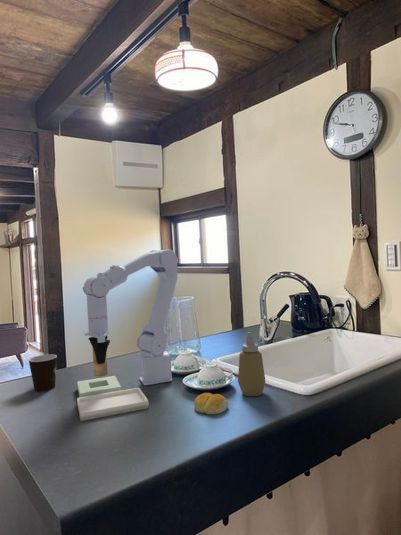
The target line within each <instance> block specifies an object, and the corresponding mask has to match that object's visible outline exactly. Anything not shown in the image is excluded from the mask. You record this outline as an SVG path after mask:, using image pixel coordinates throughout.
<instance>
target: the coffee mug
mask: <svg viewBox="0 0 401 535" xmlns="http://www.w3.org/2000/svg"><path fill="white" fill-rule="evenodd" d="M57 361H58V356H57V354H41V355H36V356H32V357H30V358H29V359H28V364H29V370H30V374H31V380H32V384H33V389H34V391H35V392H38V393H40V392H42V393H43V392H47V391H51V390H53V389H55V388H56V378H57Z"/></svg>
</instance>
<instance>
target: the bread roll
mask: <svg viewBox="0 0 401 535" xmlns="http://www.w3.org/2000/svg"><path fill="white" fill-rule="evenodd" d="M193 405H194V409H195V411H197V412H198V413H202V414H207V415H218V414H222V413H223V412H225V411H226V410H227V409H228V408H229V402H228V400H227V398H226V397H225V396H223V395H221V394H219V393H215V394H213V393H211V392H204V393H202V394H199V395H198V396H196V398H195V399H194V404H193Z"/></svg>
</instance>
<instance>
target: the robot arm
mask: <svg viewBox="0 0 401 535" xmlns="http://www.w3.org/2000/svg"><path fill="white" fill-rule="evenodd" d="M178 263H179V258H178V256H177V254H176V252H174V251H173V249H170V248H167V249H160V250H158V249H153V250H150V251H148V252H145V253H144V254H142V255H140V256H138V257H137V258H135V259H133V260H132V261H130V262H129V263H126V264H125V265H124V266H121V265H114V264H113V265H111V266H110V267H109V268H108V270H105V271H103V272H99V273H97V274H96V275H97V276H95V277H89V278H87V279H86V281H85V282H84V284H83V286H82V291H83V292H84V294H85V295H86V305H87V306H86V307H87V309H86V310H87V324H88V325H87V326H88V332H87V331H86V332H84V336H89V337H88V341H89V343H90V344H91V346H92V350H93V349H94V352H95V356H96V361H97V363H98V364H103V363H105V360H106V353H107V352H108V348H109V345H110V344H111V340H110V339H108V335H109V334H110V330H109V322H108V321H109V319H108V318H109V317H108V304H107V303H108V302H107V295H108V294H109V292H110V291H111V290H113V289H114V288H116V287H118V286H120V285H122V284H123V283H125V282H127V280H128V276H131V275H133V274H134V273H136V272H138V271H141V270H143V269H144V268H147V267H150V269H152V270H153V271H154V272H155V273H156V274H157V276H158V277H159V280H160V281H159V284H158V288H157V291H156V295H155V299H154V302H153V306H152V309H151V312H150V314H149V315H150V316H149V319H148V323H147V324H146V325H145V326H144V327H143V328H142V330H141V333H140V334H139V335H138V336H137V339H136V347H137V349H138V350H139V351H140V358H141V373H142V376H140V377H139V378H138V379H139V381H140V382H141V383H142V384H143V385H144V386H149V385H151V386H152V385H156V384H161V383H162V384H163V383H167V382H173V378H172V361H171V355H170V353H169V352H167V351H166V350H167V346H168V344H167V342H168V341H167V336H168V332H167V331H166V329H165V325H166V322H167V319H168V318H167V317H168V314H169V310H170V307H171V303H172V299H173V295H174V293H175V288H176V285H177V281H178V267H177V266H178Z"/></svg>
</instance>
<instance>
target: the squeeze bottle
mask: <svg viewBox="0 0 401 535" xmlns="http://www.w3.org/2000/svg"><path fill="white" fill-rule="evenodd" d="M241 350H242V351H240V353H239V355H238V356H239V357H238V358H239V359H238V375H237V383H238V386H239V389H240V392H241V393H242V395H244V396H246V397H258V396H261V395H262V394H263V391H264V389H265V385H266V376H265V368H264V361H263V354H262V352H261V351H259V344H257V343H255V340H254V336H253V334H252V332H250V331H248V332H247V334H246V340H245V343H243V344H242V347H241Z"/></svg>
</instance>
